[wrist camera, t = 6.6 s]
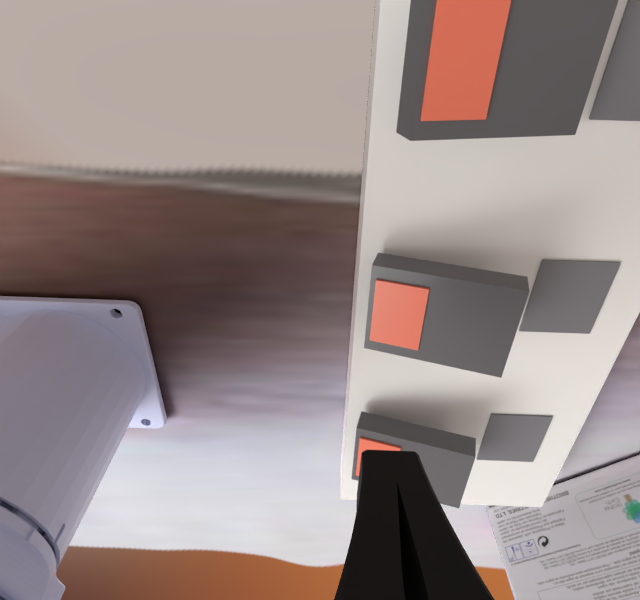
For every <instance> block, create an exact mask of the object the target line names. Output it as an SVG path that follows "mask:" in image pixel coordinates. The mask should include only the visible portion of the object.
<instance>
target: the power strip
mask: <svg viewBox="0 0 640 600" xmlns="http://www.w3.org/2000/svg"><path fill="white" fill-rule="evenodd" d="M410 3H411V0H375V9H374V24H373V36H372V49H371V63H370V76H369V90H368V103H367V117H366V130H365V143H364V158H363V170H362V184H361V197H360V211H359V224H358V238H357V251H356V264H355V278H354V291H353V305H352V318H351V332H350V345H349V358H348V372H347V385H346V399H345V412H344V426H343V439H342V452H341V466H340V482H341V499H345V500H357V489H358V481H357V480H353V479H352V468H353V458H354V448H355V438H356V428H357V424H358V421H359V417H360V414H361V411H362V412H367V413H371V414H375V415H379V416H384V417H388V418H392V419H396V420H401V421H405V422H409V423H413V424H418V425H422V426H426V427H430V428H434V429H439V430H443V431H447V432H451V433H456V434H460V435H464V436H468V437H473V438H476V457H475V460H474V463H473V466H472V469H471V473H470V476H469V479H468V482H467V485H466V488H465V491H464V494H463V497H462V500H461V503H460V504H471V505H496V506H521V507H542V506H543V504H544V502H545V500H546V498H547V496H548V494H549V492H550V490H551V488H552V486H553V484H554V482H555V480H556V478H557V476H558V474H559V472H560V470H561V468H562V466H563V464H564V462H565V460H566V458H567V456H568V454H569V452H570V450H571V448H572V446H573V444H574V442H575V440H576V438H577V436H578V434H579V432H580V430H581V428H582V426H583V424H584V422H585V420H586V418H587V416H588V414H589V412H590V410H591V408H592V406H593V404H594V402H595V400H596V398H597V396H598V394H599V392H600V390H601V388H602V386H603V384H604V382H605V380H606V378H607V376H608V374H609V372H610V370H611V368H612V366H613V364H614V362H615V360H616V358H617V356H618V354H619V352H620V350H621V348H622V346H623V344H624V342H625V340H626V338H627V336H628V334H629V332H630V330H631V328H632V326H633V324H634V322H635V320H636V318H637V316H638V314H639V312H640V0H618V4H617V7H616V10H615V13H614V16H613V19H612V22H611V25H610V28H609V32H608V35H607V38H606V41H605V44H604V47H603V50H602V53H601V56H600V60H599V63H598V66H597V69H596V72H595V75H594V78H593V81H592V84H591V88H590V91H589V94H588V97H587V100H586V103H585V106H584V109H583V112H582V116H581V119H580V122H579V125H578V128H577V131H576V134H575V135H562V136H534V137H506V138H479V139H451V140H423V141H410V140H408V139H406V138H405V137H403V136H401V135H400V134H398V133H397V132H396V129H397V120H398V111H399V102H400V93H401V84H402V75H403V66H404V57H405V48H406V39H407V30H408V21H409V12H410ZM378 253H384V254H390V255H396V256H403V257H409V258H415V259H421V260H427V261H434V262H440V263H446V264H452V265H458V266H465V267H471V268H477V269H483V270H489V271H496V272H502V273H508V274H514V275H520V276H527V277H528V284H529V291H530V292H529V295H528V298H527V301H526V304H525V307H524V310H523V313H522V316H521V319H520V322H519V325H518V329H517V332H516V335H515V338H514V341H513V344H512V347H511V350H510V353H509V356H508V359H507V362H506V365H505V368H504V371H503V374H502V377H501V378H500V377H495V376H491V375H486V374H481V373H477V372H472V371H468V370H463V369H458V368H454V367H449V366H445V365H440V364H435V363H431V362H426V361H421V360H417V359H412V358H408V357H403V356H398V355H394V354H389V353H385V352H380V351H375V350H371V349H366V348H364V342H365V332H366V322H367V311H368V301H369V291H370V281H371V270H372V264H373V262H374V260H375V258H376V256H377V254H378Z"/></svg>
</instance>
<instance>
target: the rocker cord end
mask: <svg viewBox="0 0 640 600" xmlns="http://www.w3.org/2000/svg"><path fill="white" fill-rule="evenodd" d="M617 4H618V0H411V3H410V12H409V21H408V30H407V39H406V48H405V57H404V66H403V75H402V84H401V93H400V102H399V111H398V120H397V129H396V132H397V133H398V134H400V135H401V136H403V137H405V138H406V139H408V140H410V141H423V140H451V139H479V138H506V137H534V136H562V135H575V134H576V131H577V128H578V125H579V122H580V119H581V116H582V112H583V109H584V106H585V103H586V100H587V97H588V94H589V91H590V88H591V84H592V81H593V78H594V75H595V72H596V69H597V66H598V63H599V60H600V56H601V53H602V50H603V47H604V44H605V41H606V38H607V35H608V32H609V28H610V25H611V22H612V19H613V16H614V13H615V10H616V7H617Z"/></svg>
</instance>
